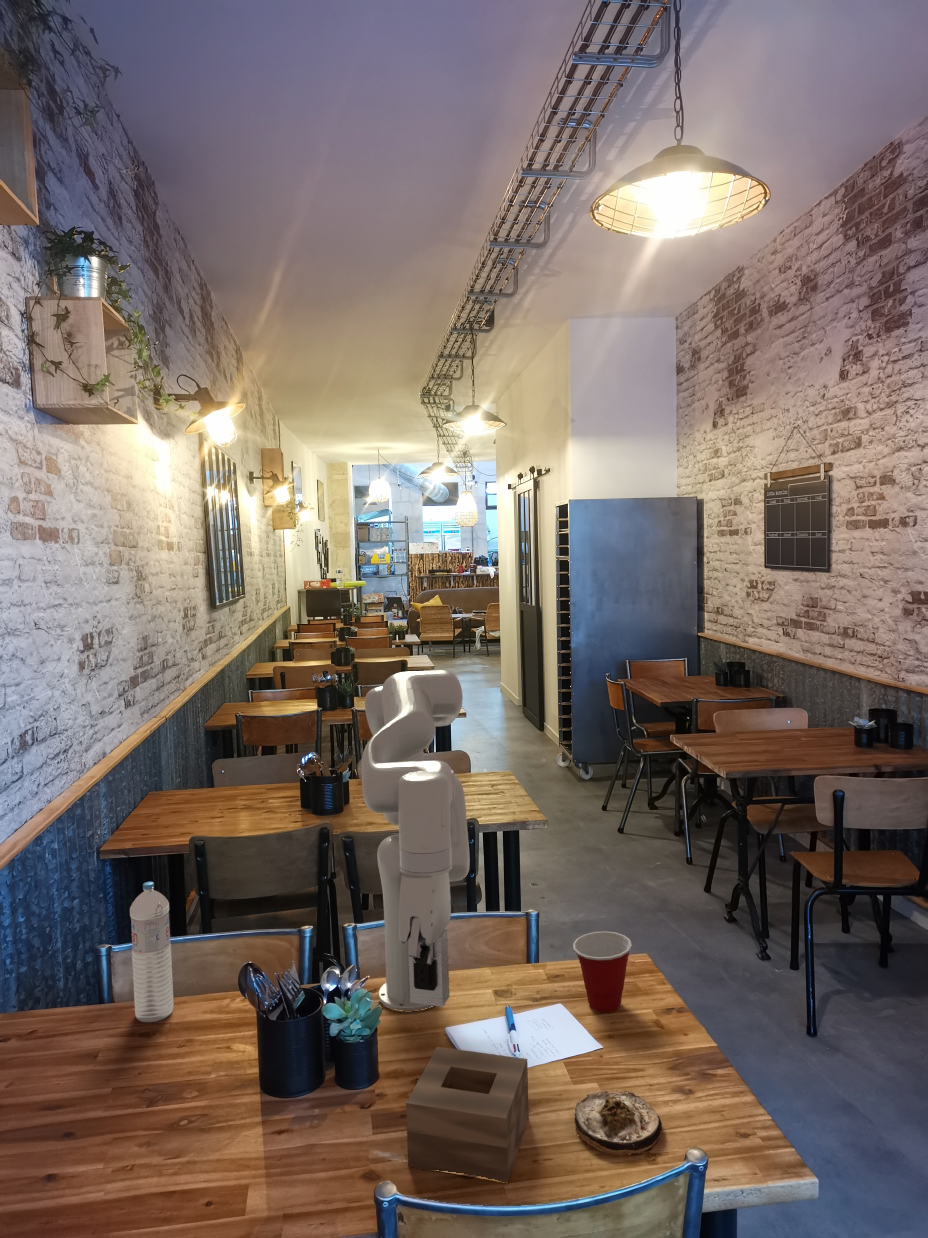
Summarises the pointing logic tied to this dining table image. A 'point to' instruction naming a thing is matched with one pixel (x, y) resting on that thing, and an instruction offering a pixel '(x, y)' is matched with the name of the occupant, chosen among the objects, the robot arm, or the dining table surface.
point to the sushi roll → (617, 1123)
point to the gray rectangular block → (442, 975)
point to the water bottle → (151, 955)
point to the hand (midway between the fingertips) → (429, 981)
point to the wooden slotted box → (468, 1113)
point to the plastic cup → (603, 968)
